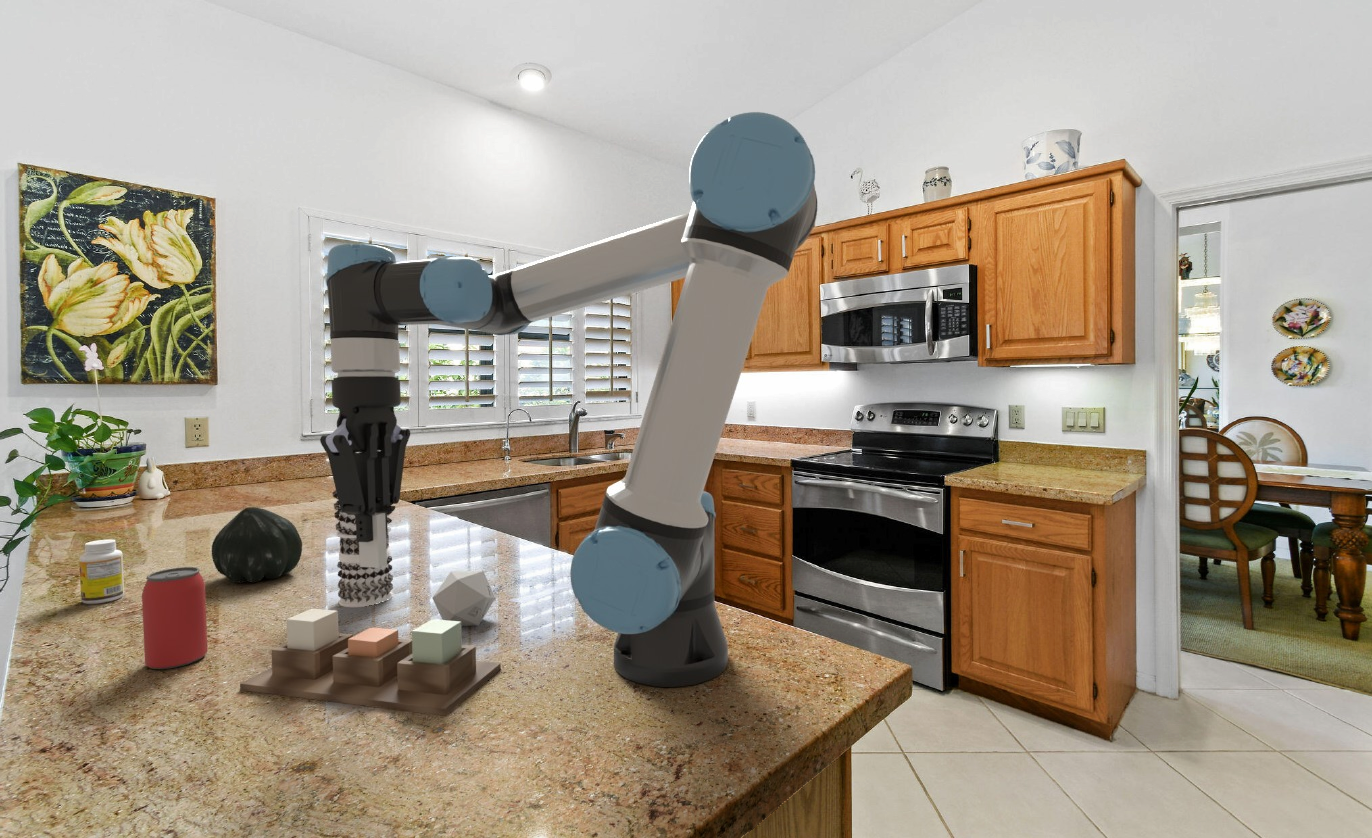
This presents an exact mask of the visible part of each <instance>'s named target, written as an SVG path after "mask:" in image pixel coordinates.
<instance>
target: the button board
mask: <svg viewBox="0 0 1372 838" xmlns="http://www.w3.org/2000/svg"><path fill="white" fill-rule="evenodd" d="M338 634H339V639H337V640H335V641H333V642H331V643H329V644H327V645H325V646H323V647H321V648H319V649H317V650H315V651H310V650H300V649H291V648H287V642H285V643H283V644H280V645H277V646H276V647H274V648H272V649H271V651H270V652H271V668H269V669H267V670H264V671H262V672H260V673H258V674H256V675H254V676H252V677H250V678H248V679H246V680H244V681H242V682H240V683H239V690H240V691H247V692H253V693H259V694H270V695H276V696H284V697H294V698H301V699H310V700H317V701H325V702H333V703H341V704H349V705H356V706H363V705H366V706H365V707H371V708H380V709H387V710H388V709H389V710H394V711H395V710H398V711H403V712H404V711H406V712H412V713H420V714H428V715H435V716H442V717H445V716H448V714H450V713H451V712H452V711H454V710H455V708H456V707H458V706H459V705H461V703H463V702H464V701H465V700H466V699H467V698H469V696H471V695H472V694H473V693H474V692H476V691H477V690H478V689H479V688H480V687H482V686H483V685H484V684H485V683H486V682H487V681H488V680H490V679H491V678H492V677H493V676H495V675H496V674H498V672H499V671H500V670H501V668H502V667H501V664H502V663H500V662H493V661H491V662H490V661H483V660H482V661H481V660H477V648H476V645H475V646H474V645H465V644H462V652H460V653H459V654H458V655H456V656H455V657H453V658H452V659H451V660H449V661H448V662H446V663H445V664H443V665H442V664H433V663H423V662H414V661H413V654H412V639H407V638H406V639H404V638H398V639H399V645H398V646H396V647H394V648H393V649H391V650H389V651H387V652H386V653H384V654H382V655H381V656H379V657H377V658H376V657H367V656H357V655H348V639H349V638H351V637H353V636H354V634H352V633H343V632H342V633H341V632H338ZM372 706H373V707H372Z"/></svg>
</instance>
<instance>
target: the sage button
mask: <svg viewBox="0 0 1372 838" xmlns="http://www.w3.org/2000/svg"><path fill="white" fill-rule="evenodd" d="M411 640H412V654H413V661H414V662H423V663H433V664H442V665H443V664H445V663H446V662H448V661H449V660H451V659H452V658H453V657H455V656H456V655H458V654H459V653H460V652H462V645H463V644H462V642H463V641H462V626H461V622H460V621H449V620H442V619H436V618H431V619H430V620H429V621H427V622H425V623H423V624H421V625H419V626H417V627H416V628H415V629H413V630H411Z"/></svg>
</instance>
